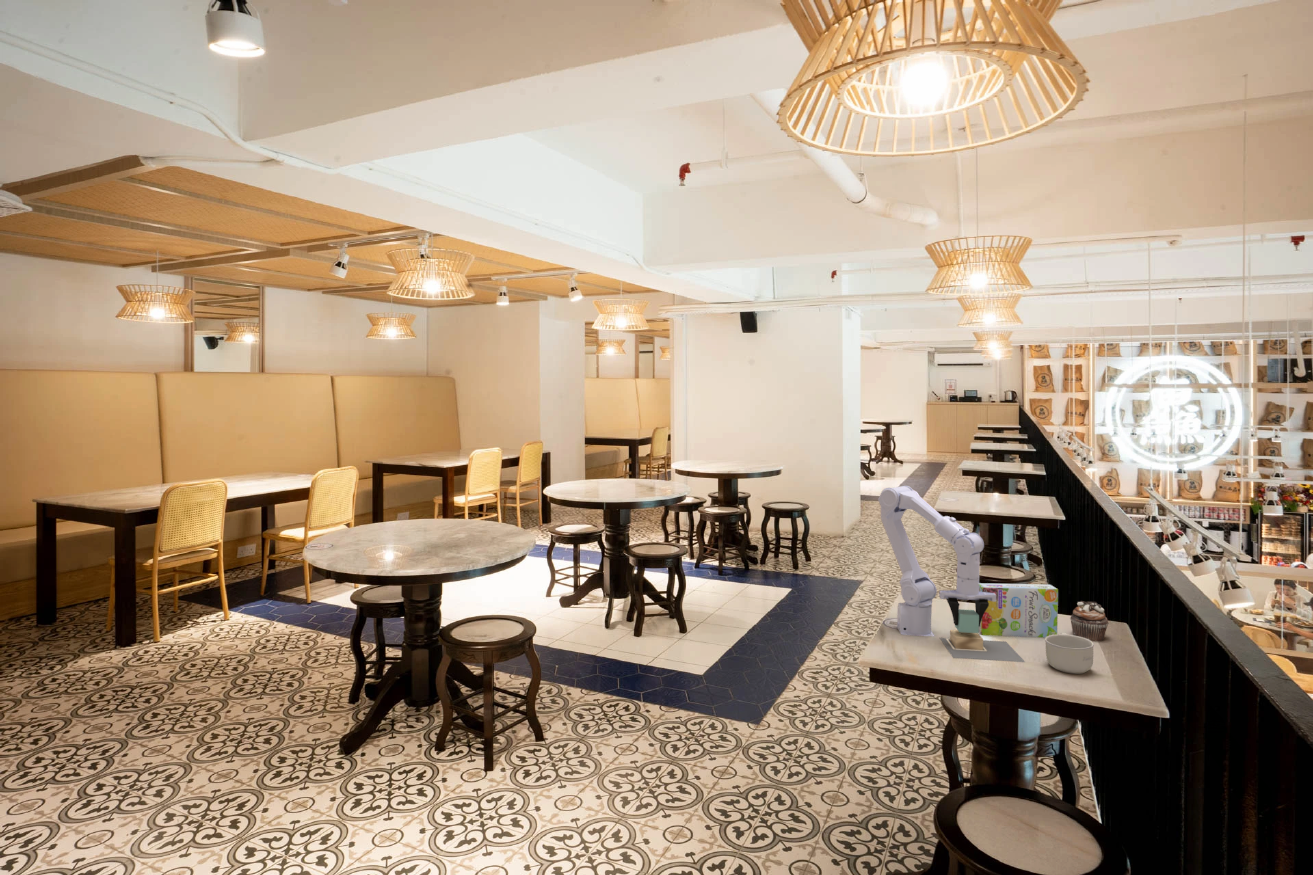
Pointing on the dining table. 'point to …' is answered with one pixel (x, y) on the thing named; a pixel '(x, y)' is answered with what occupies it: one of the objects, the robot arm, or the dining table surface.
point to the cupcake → (1089, 621)
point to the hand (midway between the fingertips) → (966, 624)
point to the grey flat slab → (985, 651)
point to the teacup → (1069, 653)
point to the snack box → (1020, 610)
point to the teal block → (968, 621)
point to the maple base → (966, 640)
